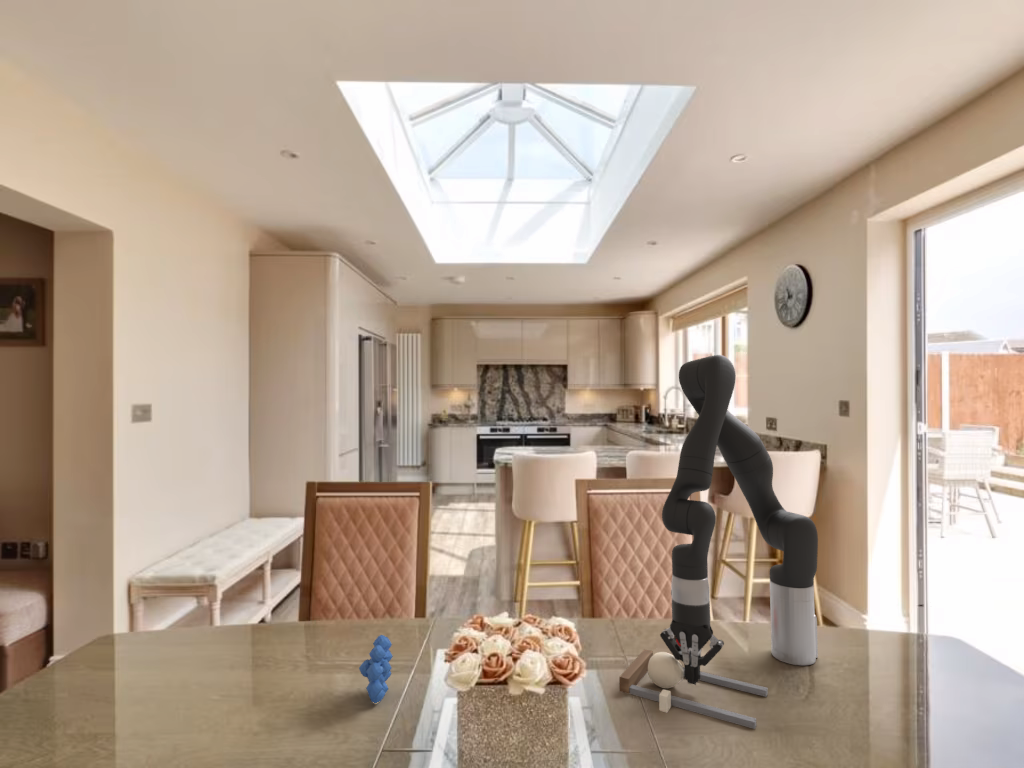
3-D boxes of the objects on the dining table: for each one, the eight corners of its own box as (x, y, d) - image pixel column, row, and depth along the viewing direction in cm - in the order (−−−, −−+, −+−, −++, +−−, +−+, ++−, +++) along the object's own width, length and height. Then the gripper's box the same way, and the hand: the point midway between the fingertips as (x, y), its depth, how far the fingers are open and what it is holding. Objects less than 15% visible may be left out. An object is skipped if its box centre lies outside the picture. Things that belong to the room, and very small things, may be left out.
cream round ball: (681, 697, 114) (680, 664, 115) (645, 690, 118) (644, 657, 118) (686, 682, 121) (685, 650, 121) (651, 675, 124) (651, 644, 124)
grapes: (366, 683, 122) (366, 626, 122) (398, 682, 122) (397, 626, 122) (350, 713, 110) (350, 650, 111) (385, 712, 110) (384, 650, 111)
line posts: (695, 669, 126) (695, 655, 126) (667, 712, 109) (666, 696, 109) (688, 667, 127) (688, 654, 127) (659, 710, 110) (659, 694, 110)
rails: (767, 693, 116) (767, 687, 116) (754, 729, 103) (754, 722, 103) (652, 665, 129) (652, 659, 129) (629, 693, 116) (629, 687, 116)
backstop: (653, 664, 129) (652, 651, 129) (628, 693, 116) (628, 679, 116) (644, 662, 130) (644, 649, 130) (619, 691, 117) (619, 676, 117)
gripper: (727, 597, 117) (730, 682, 116) (664, 586, 124) (666, 667, 123) (719, 608, 110) (722, 699, 110) (653, 597, 117) (655, 682, 117)
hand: (692, 682), depth 117 cm, fingers closed
